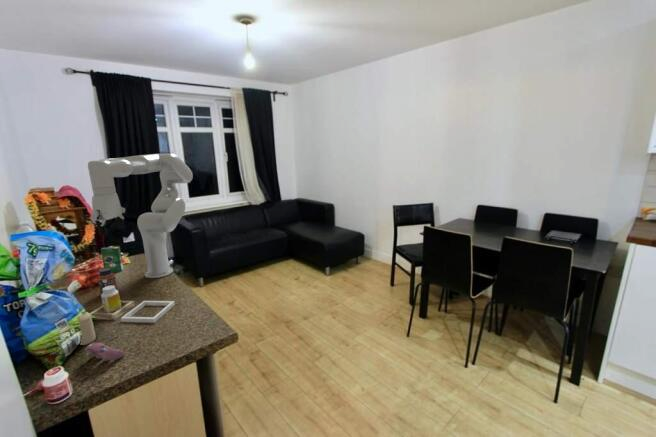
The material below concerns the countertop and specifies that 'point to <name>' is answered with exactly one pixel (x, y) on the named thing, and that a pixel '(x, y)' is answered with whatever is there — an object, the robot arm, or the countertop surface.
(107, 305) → the supplement bottle
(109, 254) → the coffee box
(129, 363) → the countertop surface
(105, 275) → the supplement bottle
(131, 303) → the brown square frame
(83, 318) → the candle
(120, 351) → the purple toy animal
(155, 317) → the white flat square frame
